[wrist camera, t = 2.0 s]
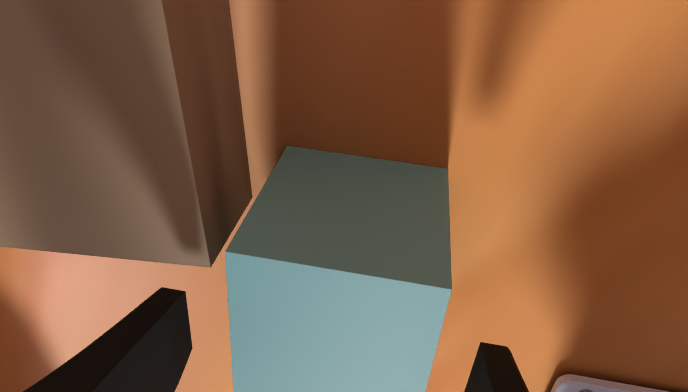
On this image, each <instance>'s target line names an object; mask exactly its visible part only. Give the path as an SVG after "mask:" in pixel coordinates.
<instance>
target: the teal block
mask: <svg viewBox="0 0 688 392" xmlns="http://www.w3.org/2000/svg"><path fill="white" fill-rule="evenodd" d="M225 257H226V274H227V290H228V307H229V324H230V340H231V357H232V374H233V390H234V392H425V391H426V387H427V383H428V380H429V376H430V372H431V368H432V364H433V360H434V356H435V353H436V349H437V345H438V341H439V337H440V333H441V329H442V325H443V322H444V318H445V314H446V310H447V306H448V302H449V298H450V295H451V291H452V280H451V249H450V217H449V186H448V169H446V168H439V167H432V166H425V165H419V164H412V163H405V162H398V161H391V160H384V159H377V158H370V157H363V156H356V155H349V154H343V153H336V152H329V151H322V150H315V149H308V148H301V147H294V146H287V147H286V149H285V150H284V152H283V154H282V155H281V157H280V159H279V161H278V162H277V164H276V166H275V167H274V169H273V171H272V172H271V174H270V176H269V178H268V179H267V181H266V183H265V184H264V186H263V188H262V190H261V191H260V193H259V195H258V196H257V198H256V200H255V202H254V203H253V205H252V207H251V208H250V210H249V212H248V213H247V215H246V217H245V219H244V220H243V222H242V224H241V225H240V227H239V229H238V231H237V232H236V234H235V236H234V237H233V239H232V241H231V243H230V244H229V246H228V248H227V249H226V251H225Z"/></svg>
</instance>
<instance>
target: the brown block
mask: <svg viewBox="0 0 688 392" xmlns="http://www.w3.org/2000/svg"><path fill="white" fill-rule="evenodd" d="M251 199H252V191H251V182H250V174H249V166H248V157H247V149H246V140H245V132H244V124H243V115H242V107H241V98H240V90H239V82H238V73H237V65H236V57H235V48H234V40H233V31H232V23H231V15H230V6H229V0H0V247H10V248H20V249H30V250H40V251H50V252H60V253H70V254H80V255H90V256H100V257H110V258H120V259H130V260H140V261H151V262H161V263H171V264H181V265H191V266H201V267H211V266H212V264H213V263H214V261H215V259H216V258H217V256H218V254H219V253H220V251H221V249H222V248H223V246H224V244H225V243H226V241H227V239H228V238H229V236H230V234H231V232H232V231H233V229H234V227H235V226H236V224H237V222H238V221H239V219H240V217H241V216H242V214H243V212H244V211H245V209H246V207H247V206H248V204H249V202H250V200H251Z"/></svg>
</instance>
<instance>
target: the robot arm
mask: <svg viewBox="0 0 688 392" xmlns="http://www.w3.org/2000/svg"><path fill="white" fill-rule="evenodd" d="M191 350H192V341H191V333H190V325H189V317H188V309H187V301H186V292H185V291H180V290H174V289H169V288H163V287H162V288H160V289H159V290H158V291H156V292H155V293H154V294H153V295H151V296H150V297H149V298H148V299H146V300H145V301H144V302H143V303H141V304H140V305H139V306H138V307H137V308H135V309H134V310H133V311H132V312H130V313H129V314H128V315H127V316H126V317H124V318H123V319H122V320H121V321H119V322H118V323H117V324H116V325H114V326H113V327H112V328H111V329H109V330H108V331H107V332H105V333H104V334H103V335H102V336H100V337H99V338H98V339H96V340H95V341H94V342H93V343H91V344H90V345H89V346H87V347H86V348H85V349H83V350H82V351H81V352H79V353H78V354H77V355H75V356H74V357H73V358H71V359H70V360H68V361H67V362H66V363H64V364H63V365H61V366H60V367H59V368H57V369H56V370H54V371H53V372H52V373H50V374H49V375H47V376H46V377H44V378H43V379H41V380H40V381H38V382H37V383H35V384H34V385H33V386H31V387H29V388H28V389H26V390H25V391H23V392H174V391H175V389H176V388H177V385H178V383H179V380H180V378H181V376H182V373H183V371H184V368H185V366H186V363H187V361H188V358H189V355H190V353H191ZM584 389H585V390H584ZM464 392H529V391H528V389H527V387H526V384H525V382H524V380H523V378H522V376H521V374H520V372H519V369H518V367H517V365H516V363H515V360H514V358H513V356H512V353H511V351H510V350H509V349H508V347H506V346H500V345H494V344H488V343H483V342H480V345H479V349H478V352H477V355H476V358H475V361H474V364H473V367H472V370H471V373H470V376H469V379H468V382H467V385H466V388H465V391H464ZM551 392H669V391H663V390H657V389H652V388H646V387H641V386H635V385H629V384H624V383H618V382H613V381H607V380H601V379H596V378H590V377H585V376H579V375H573V374H566V375H562V376H561V377H559V378H558V379H557V380H556V381H555V384H554V386H553V388H552V390H551Z"/></svg>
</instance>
